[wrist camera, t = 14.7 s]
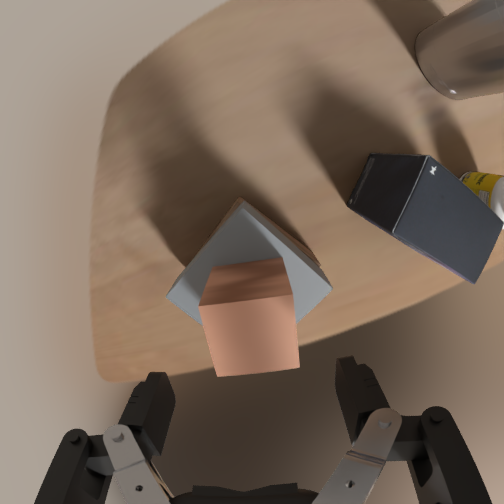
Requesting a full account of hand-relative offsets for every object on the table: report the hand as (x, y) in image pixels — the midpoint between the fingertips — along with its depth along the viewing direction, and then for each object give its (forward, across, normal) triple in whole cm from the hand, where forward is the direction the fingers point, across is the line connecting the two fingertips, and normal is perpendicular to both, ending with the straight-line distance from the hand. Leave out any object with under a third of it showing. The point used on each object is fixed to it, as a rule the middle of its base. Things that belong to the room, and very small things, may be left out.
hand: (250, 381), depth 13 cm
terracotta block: (+9, 0, 0) cm, 9 cm away
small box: (+17, -16, -4) cm, 24 cm away
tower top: (+13, 0, 0) cm, 13 cm away
